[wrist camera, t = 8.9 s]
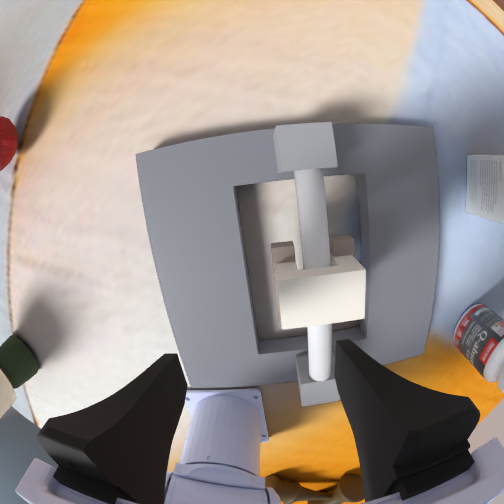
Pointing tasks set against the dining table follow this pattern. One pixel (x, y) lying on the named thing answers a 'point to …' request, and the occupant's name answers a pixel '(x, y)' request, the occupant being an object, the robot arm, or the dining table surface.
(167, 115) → the dining table surface
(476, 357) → the pill bottle
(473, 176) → the small box
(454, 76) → the dining table surface
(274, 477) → the kendama
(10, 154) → the onion
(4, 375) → the character mug
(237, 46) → the dining table surface
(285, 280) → the white notched u-block
